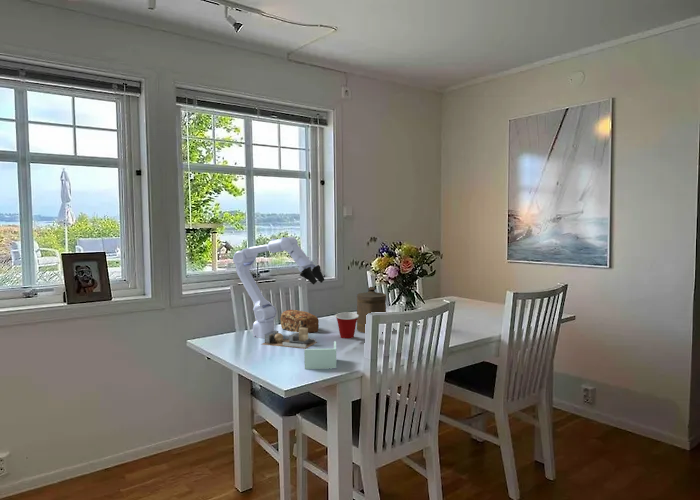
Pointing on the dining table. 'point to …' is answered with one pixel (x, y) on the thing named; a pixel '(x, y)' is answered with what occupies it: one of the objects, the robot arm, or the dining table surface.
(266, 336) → the press base
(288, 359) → the dining table surface
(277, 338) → the tan ball
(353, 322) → the plastic cup
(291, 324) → the bread
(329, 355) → the right angle wall
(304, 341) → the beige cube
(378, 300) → the wooden container
